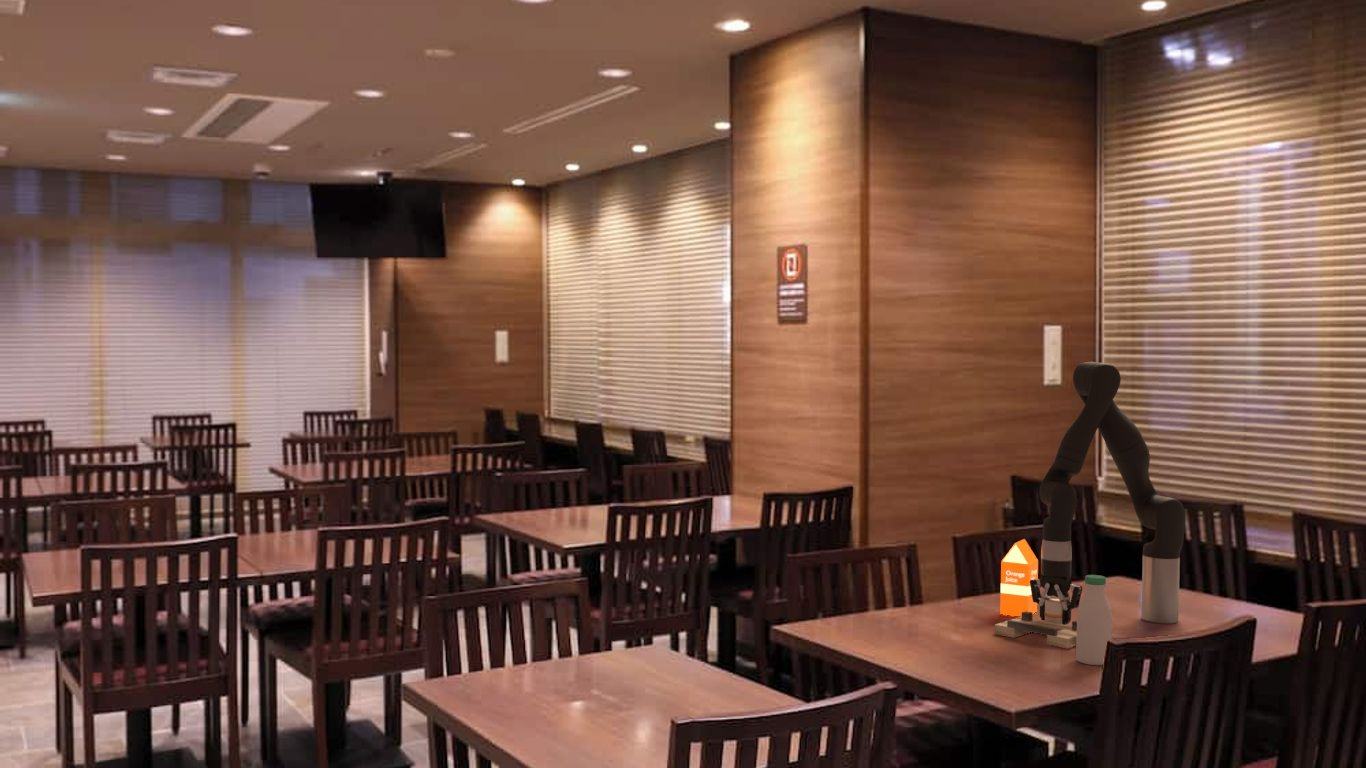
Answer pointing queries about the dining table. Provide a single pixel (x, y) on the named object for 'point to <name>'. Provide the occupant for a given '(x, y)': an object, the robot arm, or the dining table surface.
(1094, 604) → the milk bottle
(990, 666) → the dining table surface
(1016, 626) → the shelf board
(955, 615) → the dining table surface
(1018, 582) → the orange juice
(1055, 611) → the orange-banded white cylinder
